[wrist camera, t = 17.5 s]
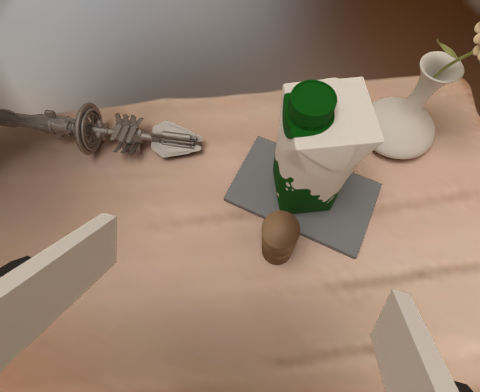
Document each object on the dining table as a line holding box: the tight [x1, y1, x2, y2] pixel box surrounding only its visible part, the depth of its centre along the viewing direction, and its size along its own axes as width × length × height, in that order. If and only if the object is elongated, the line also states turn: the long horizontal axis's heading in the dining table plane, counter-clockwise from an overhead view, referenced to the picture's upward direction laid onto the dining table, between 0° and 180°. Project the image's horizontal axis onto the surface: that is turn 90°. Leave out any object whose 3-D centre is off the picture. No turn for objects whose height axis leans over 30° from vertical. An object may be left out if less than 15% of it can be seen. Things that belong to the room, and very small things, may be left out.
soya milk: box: [273, 77, 385, 214], centre depth 34 cm, size 9×9×20 cm
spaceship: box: [0, 103, 202, 158], centre depth 46 cm, size 8×35×8 cm
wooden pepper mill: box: [262, 210, 300, 265], centre depth 36 cm, size 4×4×11 cm
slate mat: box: [224, 136, 382, 259], centre depth 44 cm, size 20×12×1 cm, turn 64°
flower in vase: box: [372, 22, 480, 159], centre depth 36 cm, size 13×11×25 cm
